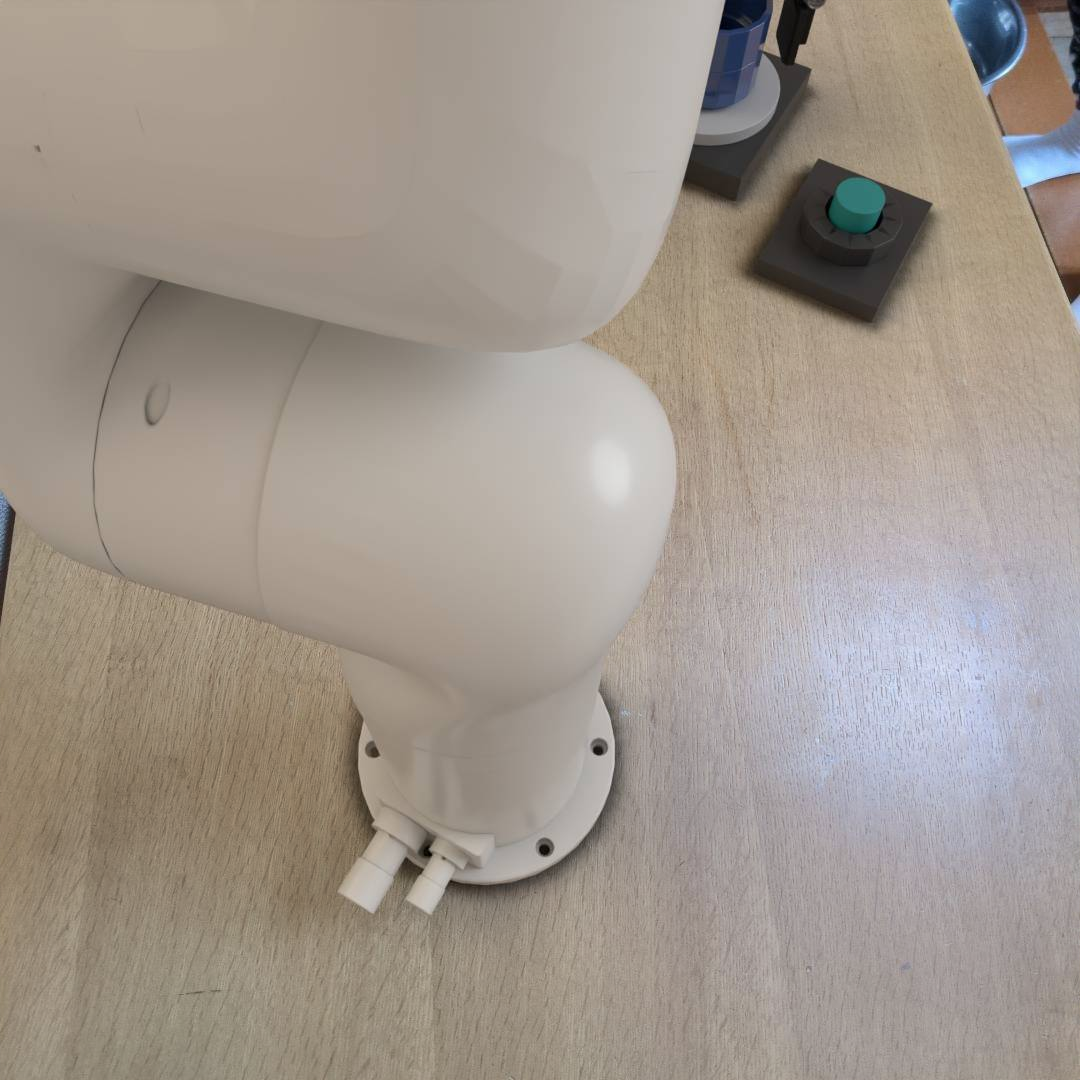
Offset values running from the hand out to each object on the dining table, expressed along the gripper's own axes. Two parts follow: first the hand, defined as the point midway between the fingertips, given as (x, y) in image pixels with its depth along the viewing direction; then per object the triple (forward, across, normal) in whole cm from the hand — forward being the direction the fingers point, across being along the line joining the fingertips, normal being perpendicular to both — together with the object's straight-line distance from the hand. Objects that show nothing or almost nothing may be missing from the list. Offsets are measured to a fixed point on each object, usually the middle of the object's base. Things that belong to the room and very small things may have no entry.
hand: (710, 52), depth 67 cm
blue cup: (+2, 0, 0) cm, 2 cm away
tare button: (+3, +8, -12) cm, 15 cm away
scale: (+5, 0, 0) cm, 5 cm away
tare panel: (+5, +8, -12) cm, 15 cm away
